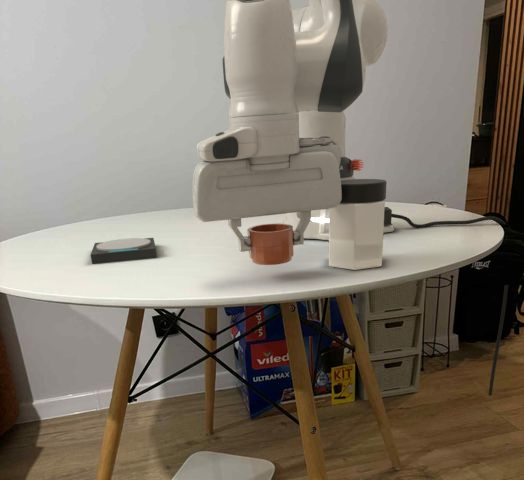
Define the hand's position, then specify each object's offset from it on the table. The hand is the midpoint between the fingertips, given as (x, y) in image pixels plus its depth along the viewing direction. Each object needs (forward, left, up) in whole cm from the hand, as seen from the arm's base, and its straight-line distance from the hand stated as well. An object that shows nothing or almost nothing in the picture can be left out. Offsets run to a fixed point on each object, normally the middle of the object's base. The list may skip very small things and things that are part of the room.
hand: (270, 247), depth 70 cm
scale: (+21, -27, -4) cm, 34 cm away
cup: (0, 0, -2) cm, 2 cm away
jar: (-14, -3, -5) cm, 15 cm away
